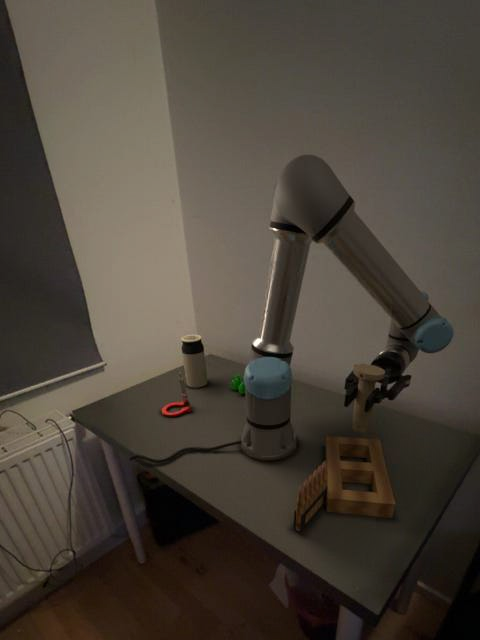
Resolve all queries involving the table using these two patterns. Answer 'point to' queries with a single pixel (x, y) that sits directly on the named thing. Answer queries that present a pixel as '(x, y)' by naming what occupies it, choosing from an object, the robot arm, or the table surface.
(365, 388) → the handle
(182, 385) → the tow hook
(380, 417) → the table surface
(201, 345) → the travel mug
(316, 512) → the ammunition clip
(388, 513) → the rack
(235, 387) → the green lumpy cluster
